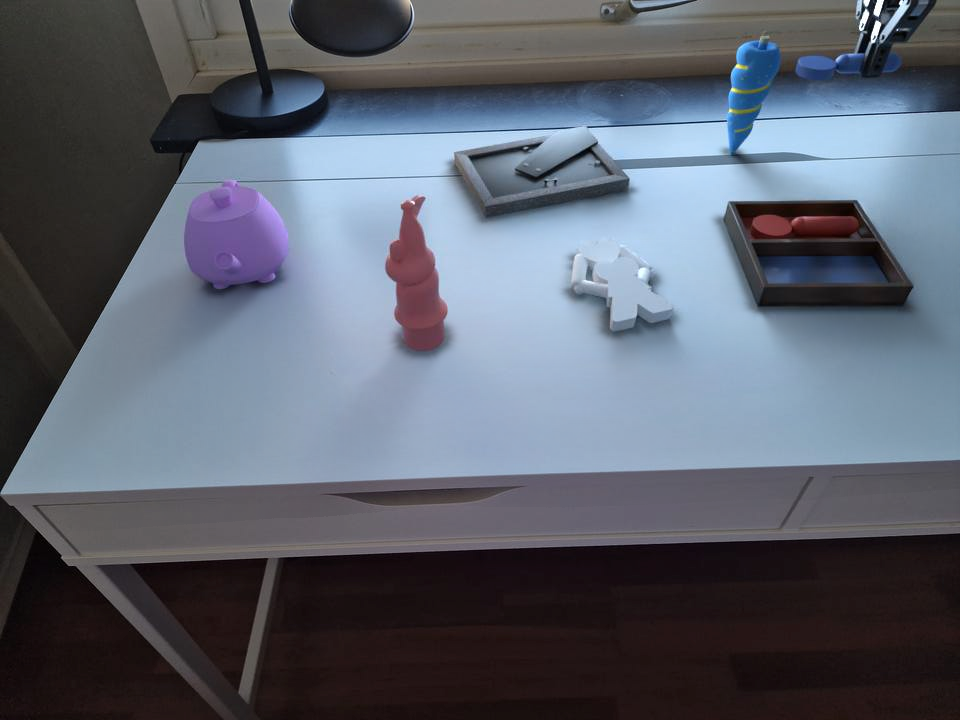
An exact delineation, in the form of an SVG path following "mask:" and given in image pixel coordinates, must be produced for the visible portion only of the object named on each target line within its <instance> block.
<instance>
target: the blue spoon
mask: <svg viewBox="0 0 960 720" xmlns="http://www.w3.org/2000/svg"><path fill="white" fill-rule="evenodd" d="M864 56H865V53H860V54H854V53H844V54H843V53H842V54H841V55H839V56H838V57H837V58H836V59H835V60H834V59H831V58H829V57H826V56H822V55H805V56H802V57H800V58H799V59H798V61H797V64H796V67H795V74H796V75H797V76H798V77H800V78H802V79H805V80H810V81H826V80H830V79H831V78H833V77H834V75H835V72H837V73H839V74H859V70H860V68H861V65H862V61H863V59H864ZM901 64H902V57H901V56H900V54H898V53H896V52H890V53H889V56H888V58H887V61H886V64H885V66H884V69H883V71H882V74H883V73H893V72H895V71H897V70H898V69H899V68H900V66H901Z"/></svg>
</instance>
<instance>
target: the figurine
mask: <svg viewBox="0 0 960 720" xmlns="http://www.w3.org/2000/svg"><path fill="white" fill-rule="evenodd" d="M426 199H427V198H426V197H425V196H423V195H419V194H418V195H415V196H413V197H411V198H410V199H409V200H408V199H406V200H404V201H402V202H401V203H400V209H401V210H402V216H401V220H400V226H399V232H398V238H397V239H394V240H392V241H390V244H389V253H388V255H387V256H386V259H385V263H384V271H385V273H386V275H387V277H388V278H389V279H390V280H391V281H393V282H394V283H396V284H395V299H396V305H395V306H394V307H395V308H394V309H393V317H394V319H395V321H396V322H397V324H399V325H400V326H401V331H402V337H403V342H404V344H405V345H406V346H407V347H408V348H409V349H411V350H413V351H416V352H429V351H432V350H435V349H437V348H439V347H440V346H441V345H442V344H443V343H444V341H445V338H446V334H445V323H444V320H445V319H446V317H447V316H448V311H449V309H448V305H447V303H446V302H445V300H443V298H441V296H440V276H439V272H438V269H437V268H436V257H435V254H434V252H433V251H432V249H430V248H429V247H428V246H427V243H426V237H425V233H424V229H423V227H422V224H421V222H420V221H419V220H418V217H419V213H420V211H421V209H422V206H423V204H424V202H426Z"/></svg>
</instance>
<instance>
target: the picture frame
mask: <svg viewBox="0 0 960 720" xmlns="http://www.w3.org/2000/svg"><path fill="white" fill-rule="evenodd" d="M453 155H454V156H453V157H454V158H453V159H454V165H455V166H456V168H457V170H458V172H459V173H460V175H461V177H462V179H463V180H464V182H465V184H466V186H467V187H468V189H469V191H470V193H471V195H472V196H473V198H474V200H475V203H476V204H477V206H478V207H479V208H480V211H481V213H482V214H483V216H484V218H485V219H489V218H493V217H494V218H495V217H499V216H504V215H509V214H515V213H518V212H519V213H520V212H523V211H529V210H534V209H539V208H544V207H549V206H554V205H559V204H564V203H569V202H575V201H579V200H583V199H589V198H594V197H595V198H596V197H600V196H605V195H609V194H615V193H620V192H624V191H628V190H629V187H630V186H629V185H630V179H631V178H630V177H629V176H628V175H627V173H625V171H624V170H623V169H622V168H621V167H620V166H619V164H617V162H616V161H615V160H614V159H613V158H612V157H611V155H610V154H609V153H608V152H607V151H606V150H605V149H604V148H603V147H602V146H601V144H599V140H598V139H597V138H596V137H595V136H594V135H593V133H592V132H591V131H590V130H589V128H588V127H587V126H586V125H582V126H577V127H571V128H565V129H560V130H555V131H554V132H553V133H552V134H549V135H544V136H536V137H531V138H527V139H521V140H515V141H509V142H503V143H498V144H492V145H487V146H486V145H485V146H481V147H480V146H479V147H474V148H469V149H464V150H458V151H454V152H453Z"/></svg>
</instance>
